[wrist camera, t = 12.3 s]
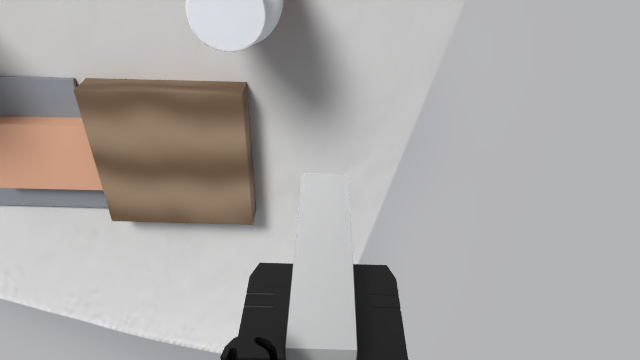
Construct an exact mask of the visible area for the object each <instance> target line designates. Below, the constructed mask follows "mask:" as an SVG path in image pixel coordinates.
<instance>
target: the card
mask: <svg viewBox="0 0 640 360" xmlns="http://www.w3.org/2000/svg"><path fill="white" fill-rule="evenodd" d="M0 188H25V189H70V190H103V188H102V185H101V181H100V178H99V175H98V171H97V168H96V164H95V161H94V158H93V154H92V151H91V148H90V144H89V141H88V138H87V134H86V131H85V127H84V124H83V121H82V118H60V117H11V116H0Z"/></svg>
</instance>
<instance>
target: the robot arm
mask: <svg viewBox="0 0 640 360" xmlns="http://www.w3.org/2000/svg"><path fill="white" fill-rule="evenodd" d="M220 358H221V360H408V356H407V350H406V343H405V336H404V329H403V323H402V316H401V311H400V302H399V298H398V289H397V282H396V278H395V277H394V275H393V274H392V272H391V271H390V270H389V268H388V267H387V266H386V265H359V264H353V255H352V234H351V214H350V193H349V174H317V173H302V178H301V189H300V199H299V210H298V220H297V231H296V241H295V252H294V263H293V264H282V263H259V265H258V266H257V267H256V269H255V270H254V271H253V273H252V274H251V275H250V278H249V283H248V288H247V295H246V298H245V304H244V309H243V314H242V319H241V324H240V329H239V335H238V337H236V338H234V339H233V340H232V341H231V342H230V343H228V344H227V345H226V346H225V348H224V350H223V353H222V355H221V357H220Z"/></svg>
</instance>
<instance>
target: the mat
mask: <svg viewBox="0 0 640 360" xmlns="http://www.w3.org/2000/svg"><path fill="white" fill-rule="evenodd" d="M76 87H77V84H76V81H75V78H50V77H9V76H0V116H11V117H60V118H82V117H81V114H80V111H79V107H78V104H77V100H76V97H75V94H74V89H75V88H76ZM0 205H28V206H66V207H104V208H108V205H107V202H106V198H105V195H104V191H103V190H70V189H25V188H0Z"/></svg>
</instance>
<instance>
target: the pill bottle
mask: <svg viewBox="0 0 640 360" xmlns="http://www.w3.org/2000/svg"><path fill="white" fill-rule="evenodd" d="M284 3H285V0H186V15H187V19H188V22H189V24H190V26H191V28H192V30H193V32H194V33H195V34H196V35H197V37H198V38H199V39H200V40H201V41H203V42H204V43H205V44H207V45H208V46H210V47H212V48H214V49H217V50H220V51H225V52H236V51H240V50H243V49H246V48H248V47H250V46H251V45H254V44H256V43H258V42H260V41H262V40H263V39H265V38H266V37H267V36H268V35H269V34H270V33H271V32H272V31H273V30H274V28H275V27H276V25H277V23H278V21H279V19H280V16H281V13H282V10H283V6H284Z"/></svg>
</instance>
